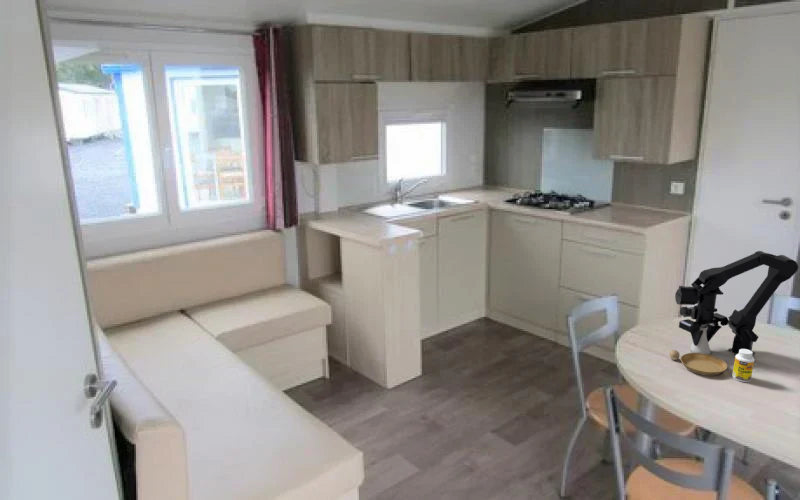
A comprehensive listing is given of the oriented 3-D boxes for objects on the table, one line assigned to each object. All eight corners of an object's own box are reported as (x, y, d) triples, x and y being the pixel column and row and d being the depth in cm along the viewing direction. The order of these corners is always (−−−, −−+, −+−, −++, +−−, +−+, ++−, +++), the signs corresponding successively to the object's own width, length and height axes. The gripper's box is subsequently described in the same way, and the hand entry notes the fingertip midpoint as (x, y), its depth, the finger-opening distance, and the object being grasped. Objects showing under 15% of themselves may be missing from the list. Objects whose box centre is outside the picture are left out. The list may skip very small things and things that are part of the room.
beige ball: (673, 356, 214) (674, 347, 213) (681, 360, 211) (682, 351, 210) (666, 358, 213) (667, 349, 212) (673, 362, 210) (675, 353, 209)
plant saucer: (709, 382, 196) (710, 375, 195) (670, 365, 208) (671, 358, 208) (735, 371, 203) (736, 365, 202) (696, 355, 215) (697, 349, 215)
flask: (713, 356, 214) (716, 331, 211) (692, 354, 215) (695, 329, 213) (707, 347, 221) (710, 323, 218) (686, 346, 222) (690, 322, 219)
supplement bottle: (734, 381, 196) (738, 353, 193) (730, 373, 201) (734, 346, 198) (752, 383, 194) (757, 355, 192) (748, 376, 200) (753, 348, 197)
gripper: (706, 293, 223) (701, 331, 228) (669, 301, 217) (664, 339, 221) (732, 303, 214) (726, 342, 218) (694, 311, 207) (689, 351, 211)
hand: (700, 343), depth 217 cm, fingers closed on flask, 5 cm apart
